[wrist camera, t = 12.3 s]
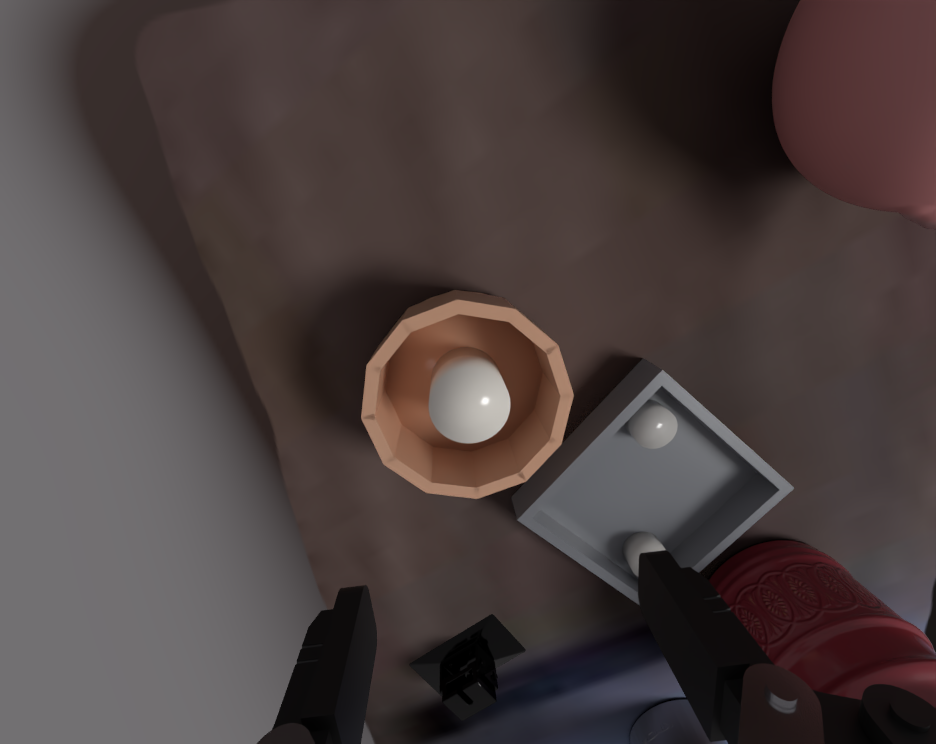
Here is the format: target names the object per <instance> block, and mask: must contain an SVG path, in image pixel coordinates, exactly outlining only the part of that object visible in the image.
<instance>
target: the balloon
mask: <svg viewBox="0 0 936 744" xmlns="http://www.w3.org/2000/svg"><path fill="white" fill-rule="evenodd" d="M772 110H773V118H774V124H775V128H776V132H777V135H778V138H779V141H780V143H781V145H782V148H783V150H784V151H785V153H786V155H787V157H788V158H789V160H790V161H791V163H792V164H793V165H794V167H795V168H796V169H797V170H798V171H799V172H800V173H801V174H802V175H803V176H804V177H805V178H806V179H807V180H808V181H809V182H810V183H812V184H813V185H814V186H816V187H817V188H819V189H820V190H822V191H824V192H825V193H827V194H829V195H831V196H833V197H835V198H837V199H839V200H842V201H845V202H847V203H850V204H853V205H857V206H860V207H864V208H869V209H874V210H880V211H888V212H899V213H900V214H901V215H902V216H904V217H905V218H906V219H908V220H910V221H912V222H915V223H917V224H919V225H920V226H922V227H924V228H927V229H935V230H936V0H800V1H799V3H798V5H797V7H796V9H795V11H794V13H793V15H792V18H791V20H790V22H789V24H788V27H787V29H786V32H785V35H784V37H783V40H782V43H781V46H780V50H779V53H778V57H777V61H776V66H775V70H774V76H773V85H772Z"/></svg>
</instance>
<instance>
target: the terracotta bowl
mask: <svg viewBox="0 0 936 744" xmlns="http://www.w3.org/2000/svg"><path fill="white" fill-rule="evenodd" d="M460 347H473V348H477V349H480V350H482V351H484V352H485V353H487V354H488V355H489V356H490V357H491V358H492V359H493V360H494V361H495V363H496V365H497V367H498V369H499V371H500V374H501V376H502V378H503V381H504V383H505V385H506V388H507V390H508V393H509V396H510V413H509V416H508V419H507V421H506V423H505V424H504V426H503V427H502V428H501V430H500V431H499V432H497V433H496V434H495V435H494V436H492V437H491V438H489V439H487V440H484V441H481V442H478V443H460V442H456V441H453V440H451V439H449V438H447V437H445V436H444V435H443V434H441V433H440V432H439V431H438V430H437V429H436V427H435V426H434V424H433V422H432V420H431V417H430V414H429V395H430V384H431V374H432V371H433V368H434V366H435V364H436V362H437V361H438V360H439V359H440V358H441V356H443V355H444V354H445V353H447V352H448V351H450V350H453V349H456V348H460ZM573 397H574V394H573V391H572V387H571V384H570V381H569V378H568V375H567V372H566V368H565V365H564V362H563V359H562V356H561V353H560V349H559V346H558V344H557V343H556V342H554V341H553V340H552V339H551V338H550V337H549V336H548V335H547V334H546V333H545V332H544V331H542V330H541V329H540V328H539V327H538V326H537V325H535V324H534V323H533V322H532V321H531V320H530V319H528V318H527V317H526V316H525V315H524V314H522V313H521V312H520V311H519V310H518V309H517V308H515V307H514V306H513V305H512V304H511V303H510V302H508V301H507V300H506V299H505V298H503V297H497V296H491V295H488V294H484V293H480V292H471V291H460V290H453V291H450V292H447V293H444V294H440V295H437V296H434V297H431V298H429V299H427V300H425V301H422V302H421V303H419V304H416V305H414V306H411V307H408V309H407V310H406V311H405V313H404V314H403V315H402V316H401V318H400V319H399V320H398V321H397V322H396V324H395V325H394V326H393V328H392V329H391V330H390V332H389V333H388V334H387V336H386V337H385V338H384V339H383V341H382V342H381V343H380V344H379V346H378V347H377V349H376V351H375V352H374V354H373V356H372V357H371V359H370V360H369V362H368V364H367V366H366V376H365V385H364V395H363V404H362V414H361V419H362V421H363V423H364V425H365V427H366V429H367V431H368V433H369V435H370V437H371V439H372V442H373V444H374V446H375V448H376V450H377V452H378V454H379V456H380V458H381V460H382V462H383V464H384V465H385V466H387V467H388V468H390V469H391V470H393V471H394V472H396V473H397V474H399V475H400V476H402V477H403V478H405V479H406V480H408V481H409V482H411V483H412V484H414V485H415V486H417V487H418V488H420V489H421V490H423V491H424V492H426V493H431V494H440V495H449V496H457V497H466V498H475V499H478V498H481V497H484V496H487V495H490V494H493V493H495V492H498V491H501V490H504V489H507V488H509V487H512V486H515V485H518V484H521V483H524V482H526V481H527V480H528V479H529V478H530V477H531V476H532V475H533V474H534V473H535V472H536V471H537V470H538V469H539V468H540V466H541V465H542V464H543V463H544V462H545V461H546V460H547V459H548V458H549V457H550V456H551V455H552V454H553V453H554V452H555V451H556V450H557V449H558V448H559V446H560V445H561V444H562V440H563V436H564V432H565V428H566V424H567V420H568V416H569V413H570V409H571V405H572V401H573Z"/></svg>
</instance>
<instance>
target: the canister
mask: <svg viewBox="0 0 936 744" xmlns="http://www.w3.org/2000/svg"><path fill="white" fill-rule="evenodd" d="M709 582H710V583H711V584H712V586H713V587H714V588H715V589H716V591H717V592H718V593H719V595H720V597H721V599H722V598H723V600H724V601H725V602H726V603H727V605H728V606H729V607H730V610H731V612H734V614H735V615H736V616H737V618H738V619H739V620H740V621H741V623H742V624H743V625H744V627H745V628H746V629H747V630H748V632H749V633H750V634H751V636H752V637H753V638H754V639H755V641H756V642H757V643H758V645H759V646H760V647H761V648H762V650H763V651H764V652H765V653H766V655H767V656H768V657H769V659H770V660H771V661H772V662H773V663H774V665H776V666H779V667H782V668H784V669H786V670H788V671H790V672H792V673H794V674H795V675H797V676H798V677H799V678H801V679H802V680H803V681H804V682H805V683H806V684H807V685H808V686H809V687H810V688H811V689H812V690H815V691H819V692H823V693H827V694H833V695H838V696H844V697H849V698H854V699H860V700H861V699H862V695H863V692H864V690H865V689H866V688H867V687H868V686H871V685H874V684H887V685H892V686H896V687H899V688H902V689H904V690H907V691H909V692H911V693H913V694H915V695H917V696H919V697H920V698H922V699H924V700H925V701H927V702H928V703H930V704H931V705H932V706H933V707H935V708H936V652H935V651H934V649H933V647H932V644H931V642H930V641H929V639H928V638H927V636H926V635H925V634H924V633H923V632H922V631H921V630H920V629H919V628H917V627H916V626H915V625H913V624H911V623H910V622H908V621H905V620H904V619H902V618H901V617H900V616H899V615H898V614H896V613H895V612H894V611H893V610H891V609H890V608H889V607H888V606H887V605H885V604H884V603H883V602H882V601H881V600H879V599H878V598H877V597H876V596H875V595H873V594H872V593H871V592H870V591H868V590H867V589H866V588H865V587H864V586H862V585H861V584H860V583H859V582H858V581H856V580H855V579H854V578H853V577H852V576H851V574H850V573H849V572H848V571H847V570H846V569H845V568H844V567H843V566H842V565H840V564H839V563H838V562H837V561H835V560H834V559H833V558H831V557H830V556H828V555H827V554H825V553H823V552H820V551H818V550H817V549H815V548H814V547H812V546H810V545H808V544H805V543H801V542H797V541H790V540H777V541H770V542H765V543H761V544H757V545H755V546H752V547H749V548H747V549H745V550H743V551H741V552H739V553H737V554H736V555H734V556H733V557H731V558H730V559H728V560H727V561H726V562H725V563H724V564H722V565H721V566H720V567H719V568H718V569H717V570H716V572H715V573H714V574H713V575H712V576H711V578H710V579H709Z"/></svg>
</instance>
